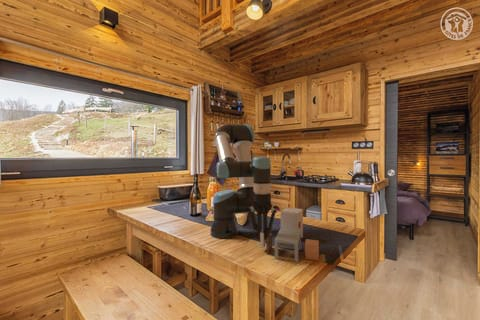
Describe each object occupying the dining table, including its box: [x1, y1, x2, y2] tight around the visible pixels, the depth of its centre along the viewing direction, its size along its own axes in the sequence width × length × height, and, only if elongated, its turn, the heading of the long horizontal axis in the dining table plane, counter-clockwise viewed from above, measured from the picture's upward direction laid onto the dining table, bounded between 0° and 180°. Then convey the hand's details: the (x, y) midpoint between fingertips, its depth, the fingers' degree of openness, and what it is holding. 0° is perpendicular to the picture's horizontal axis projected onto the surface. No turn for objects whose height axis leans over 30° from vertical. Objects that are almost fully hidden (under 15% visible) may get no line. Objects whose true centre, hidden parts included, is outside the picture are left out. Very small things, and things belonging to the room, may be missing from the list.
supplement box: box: [280, 206, 304, 239], centre depth 113 cm, size 9×9×15 cm
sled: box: [265, 232, 326, 264], centre depth 93 cm, size 23×7×8 cm, turn 70°
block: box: [304, 239, 320, 260], centre depth 90 cm, size 5×5×6 cm
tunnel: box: [274, 228, 302, 263], centre depth 94 cm, size 9×13×9 cm
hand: (262, 246), depth 98 cm, fingers closed
